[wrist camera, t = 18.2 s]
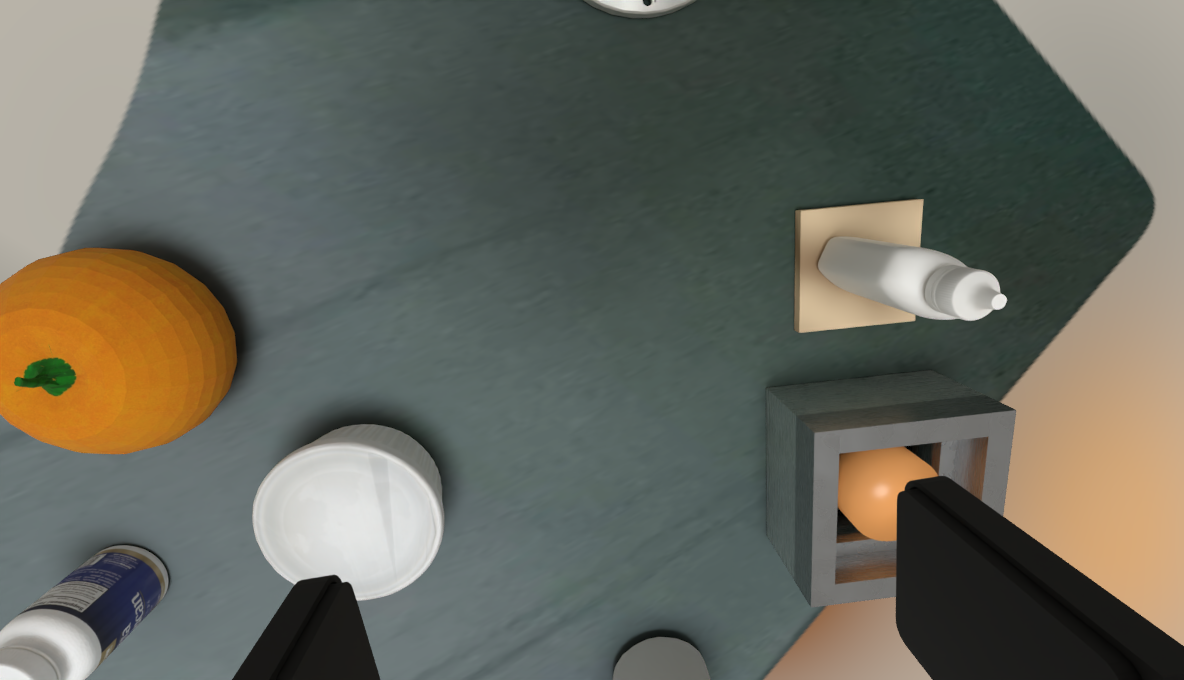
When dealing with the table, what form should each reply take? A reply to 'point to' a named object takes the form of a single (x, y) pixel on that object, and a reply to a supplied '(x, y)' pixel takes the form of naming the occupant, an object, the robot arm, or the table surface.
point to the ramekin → (352, 510)
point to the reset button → (877, 487)
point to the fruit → (111, 351)
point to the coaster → (876, 221)
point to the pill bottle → (83, 616)
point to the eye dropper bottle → (910, 278)
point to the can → (661, 661)
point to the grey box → (859, 423)
